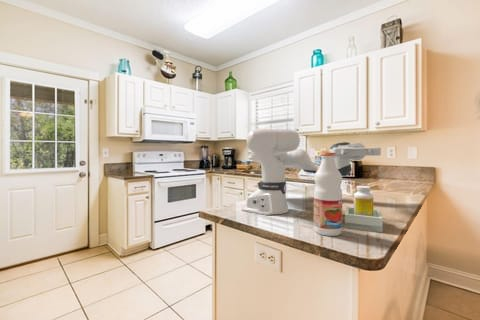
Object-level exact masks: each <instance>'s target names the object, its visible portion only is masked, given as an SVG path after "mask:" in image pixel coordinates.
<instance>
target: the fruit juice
mask: <svg viewBox="0 0 480 320" xmlns="http://www.w3.org/2000/svg"><path fill="white" fill-rule="evenodd" d="M335 156H336V154H335V153H330V152H320V158H321V160H320V163H319V166H318V167H319V169H318V170H317V172H316V173H314V175H313V176H314V177H313V178H314V179H313V180H314V184H315V187H314V190H313V231H314V232H315V233H317V234H318V235H322V236H327V237H328V236H329V237H336V236H339V235H341V234H342V232H343V191H342V188H341V185H342V182H343V177H342V175H341V173H340V172H339V171H338V169H337V167H336V164H335Z"/></svg>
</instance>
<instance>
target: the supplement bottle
mask: <svg viewBox="0 0 480 320" xmlns="http://www.w3.org/2000/svg"><path fill="white" fill-rule="evenodd" d="M356 190H357V191H356V192H354V194H353V208H354V215H363V216H372V217H373V210H374V195H373V194H372V193H371V190H372V189H371V187H370V186H368V185H357V186H356Z"/></svg>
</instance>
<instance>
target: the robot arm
mask: <svg viewBox="0 0 480 320" xmlns="http://www.w3.org/2000/svg"><path fill="white" fill-rule="evenodd" d="M300 142H301V138H300V135H299V133H298V132H297V131H295V130H291V129H287V128H286V129H283V128H281V129H280V128H276V129H275V128H258V129H254V130H251V131H249V132H248V134H247V136H246V146H247V147H248V149H249V150H250V158H251V160H252V161H253V162H255V163H259V164H260V165H259V169H260V172H261V181H258V182H257V183H256V184H257V185H256V186H258V188H257V189H255V191H253V192H252V193H250V195H248V196H247V198H246V204H245V205H243V206H242V207H241V211H244V212H249V213H254V214H259V215H263V216H264V215H265V216H271V215H282V214H286V213H288V212H289V207H288V203H287V196H286V195H287V181H286V168H299V169H301V170H302V171H304V172H305V173H309V174H315V173H316V172H317V170H318V169H319V167H320V166H318V165H316V164H315V163H314V162H313V161H312V159H311V157H310V155H309V154H308V152H307V151H306V150H304V149H302V148H299V146H300ZM381 151H382V150H381V147H366V146H365V145H364V144H363V143H361V142H353V143H350V142H347V141H346V142H345V141H344V142H338V143H334V144H332V145H331V146H330V148H329V153H335V154H336V156H335V164H336V167H337V169H338V171H339V172H340V173H341V175H342V178H343V177H348V176H349V175H350V174H351V172H352V171H353V170H352V164H351V160H352V161H360V160H363V159H364V158H365V157H366V156H375V157H376V156H378V157H379V156H381V155H382V154H381V153H382V152H381Z"/></svg>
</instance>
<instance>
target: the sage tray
mask: <svg viewBox="0 0 480 320" xmlns="http://www.w3.org/2000/svg"><path fill="white" fill-rule="evenodd" d="M382 215H383V214H382V212H381V210H379V209H373V217H372V216H363V215H354V207H348V206H347V207H346V210H345V213H344V228H346V229H353V230H354V229H355V230H360V231H367V232H376V233H383V230H384V229H383V225H384V224H383V222H384V218H383V216H382Z"/></svg>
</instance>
